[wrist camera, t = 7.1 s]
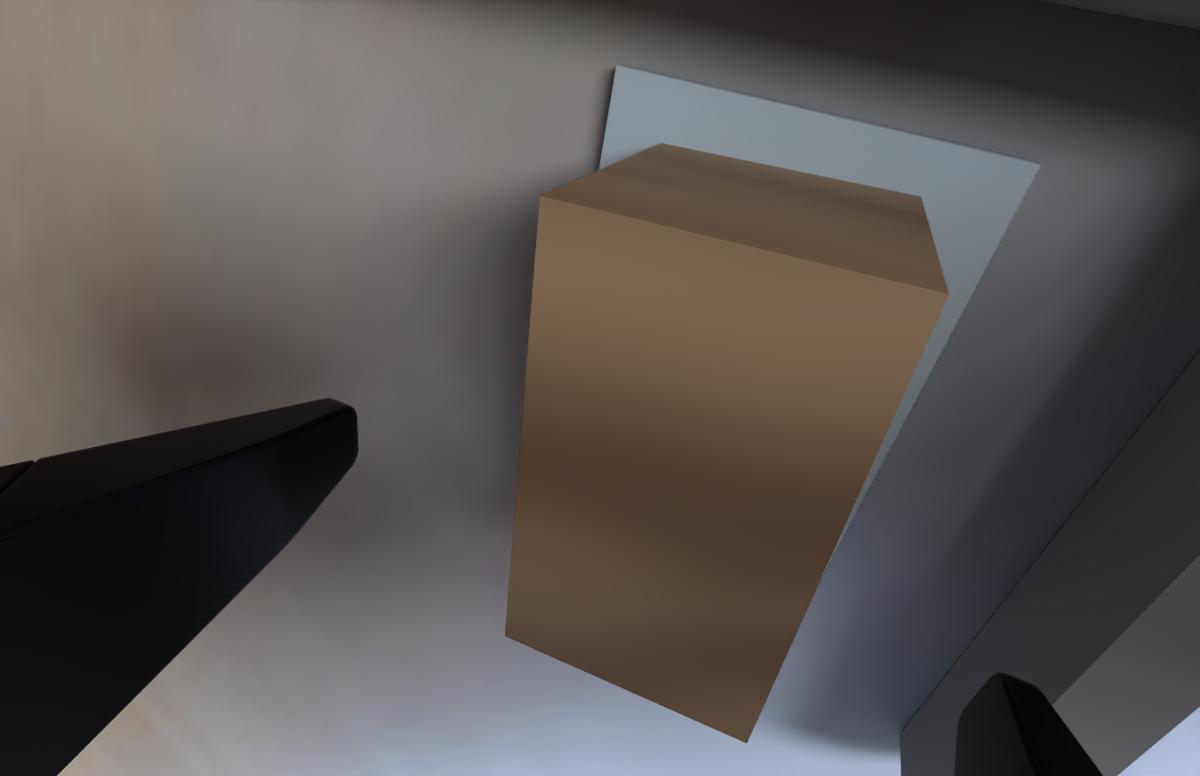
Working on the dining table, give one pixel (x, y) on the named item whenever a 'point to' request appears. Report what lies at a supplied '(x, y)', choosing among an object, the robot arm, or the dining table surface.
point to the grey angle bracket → (1102, 583)
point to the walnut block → (705, 413)
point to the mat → (841, 151)
